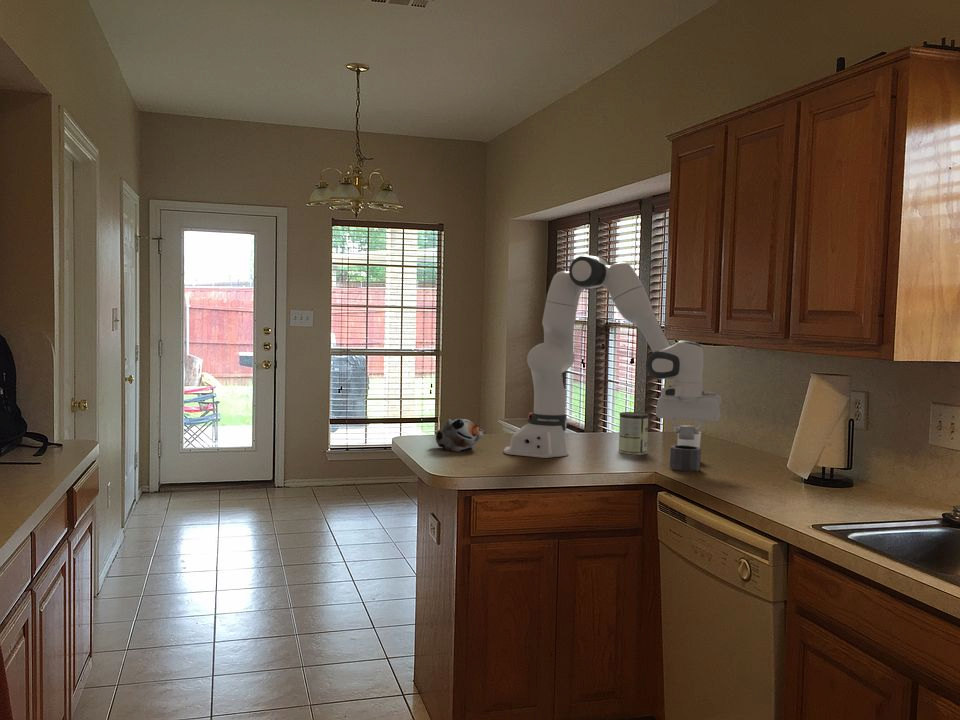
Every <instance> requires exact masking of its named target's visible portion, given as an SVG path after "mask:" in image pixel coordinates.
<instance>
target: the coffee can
mask: <svg viewBox="0 0 960 720" xmlns="http://www.w3.org/2000/svg"><path fill="white" fill-rule="evenodd" d="M649 417H650V415H649V413H645V412H640V411H639V412H638V411H622V412H620V413H619V430H618V431H619V432H618V453H620V454H625V455H638V456H639V455H646V454H648V435H649V434H648V433H649V432H648V431H649Z"/></svg>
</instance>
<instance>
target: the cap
mask: <svg viewBox="0 0 960 720" xmlns="http://www.w3.org/2000/svg"><path fill="white" fill-rule="evenodd" d="M678 427H679V439H685V440H694V439H695V428H696V426H695V425H689V424H688V425H687V424H683V425H682V424H681V425H678Z"/></svg>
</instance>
